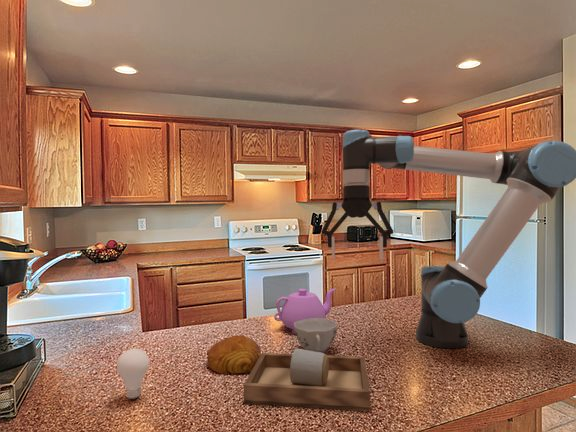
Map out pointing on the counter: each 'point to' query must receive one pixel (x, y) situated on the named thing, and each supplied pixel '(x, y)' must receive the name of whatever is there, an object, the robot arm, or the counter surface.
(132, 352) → the light bulb
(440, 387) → the counter surface
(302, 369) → the ceramic mug
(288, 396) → the tray
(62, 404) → the counter surface
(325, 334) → the teacup
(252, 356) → the croissant
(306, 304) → the teapot
